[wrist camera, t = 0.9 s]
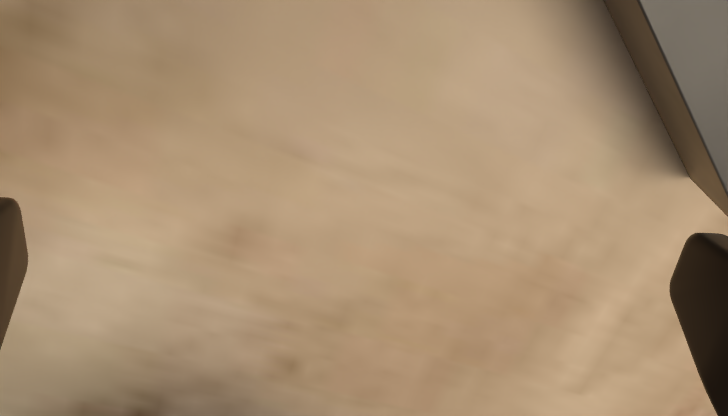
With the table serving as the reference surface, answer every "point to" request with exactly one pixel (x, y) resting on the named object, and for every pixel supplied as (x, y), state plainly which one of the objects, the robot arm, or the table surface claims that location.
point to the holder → (685, 78)
